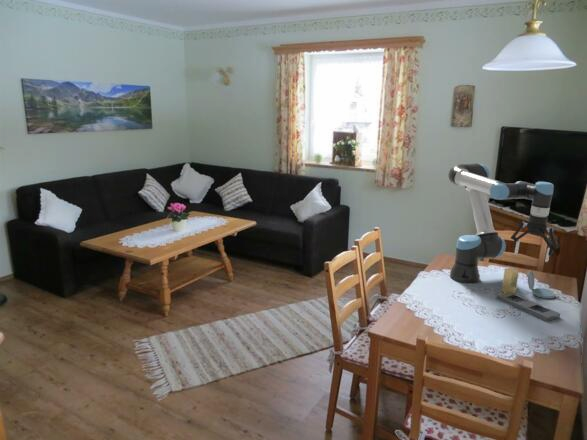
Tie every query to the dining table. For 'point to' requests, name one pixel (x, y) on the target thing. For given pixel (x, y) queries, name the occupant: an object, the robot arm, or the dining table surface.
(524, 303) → the panel
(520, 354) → the dining table surface
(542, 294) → the pocket watch
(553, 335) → the dining table surface
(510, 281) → the brass block
